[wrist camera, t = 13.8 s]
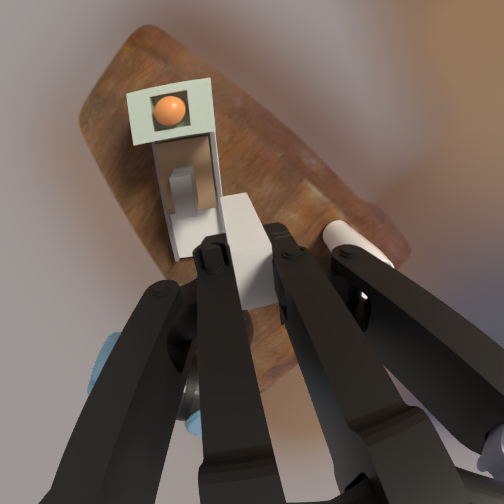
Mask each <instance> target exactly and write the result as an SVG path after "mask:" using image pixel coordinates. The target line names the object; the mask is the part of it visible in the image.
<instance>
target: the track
mask: <svg viewBox="0 0 504 504" xmlns="http://www.w3.org/2000/svg"><path fill="white" fill-rule="evenodd" d="M205 134H208V138H209V147H210V155H211V164H212V172H213V180H214V188H215V195H216V205H217V208H210V209H203V210H197V216H196V217H189V218H183V219H177V218H176V214H170V215H167V211H166V206H165V201H164V196H163V191H162V186H161V180H160V175H159V169H158V163H157V157H156V151H155V144H157V143H158V142H162V141H167V140H173V139H179V138H185V137H191V136H198V135H205ZM151 144H152V150H153V156H154V162H155V168H156V174H157V179H158V184H159V190H160V195H161V200H162V205H163V209H164V214H165V219H166V223H167V228H168V232H169V237H170V241H171V245H172V249H173V253H174V257H175V261H176V262H177V261H179V259H180V258H184V257H191V256H193V254H192V252H193V250H194V249H195V248H196V247H197V246H198V245H200V244H201V242H202V241H203V239H204V238H205V237H206V236H211V235H216V234H221V233H226V230H225V224H224V218H223V212H222V206H221V200H220V197H222V188H221V180H220V171H219V163H218V154H217V145H216V136H215V131H214V132H206V133H199V134H192V135H186V136H180V137H174V138H169V139H163V140H158V141H153V142H151Z"/></svg>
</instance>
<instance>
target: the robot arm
mask: <svg viewBox="0 0 504 504" xmlns="http://www.w3.org/2000/svg"><path fill="white" fill-rule="evenodd" d="M220 200H221V206H222V212H223V218H224V224H225V230H226V233H221V234H216V235H211V236H206V237H205V238H204V239H203V241H202V242H201V244H200V245H198V246H197V247H196V248H195V249H194V250H193V252H192V254H193V258H194V262H195V265H196V269H197V278H196V279H195V280H193V281H192V282H190V283H188V284H185V285H183V286H180V287H179V285H178V283H177V282H175V281H173V280H161V281H159V282H156V283H154V284H152V285H151V286H149V287H148V288H147V290H146V291H145V292H144V294H143V296H142V297H141V299H140V301H139V302H138V304H137V306H136V308H135V310H134V311H133V313H132V315H131V316H130V318H129V320H128V322H127V323H126V325H125V327H124V329H123V331H122V332H115V333H112V334H111V335H109V336H108V338H107V339H106V341H105V343H104V345H103V346H102V348H101V351H100V353H99V355H98V357H97V360H96V362H95V365H94V368H93V371H92V374H91V379H90V382H89V384H88V390H87V393H88V395H89V397H88V399H87V401H86V403H85V405H84V407H83V409H82V412H81V414H80V416H79V418H78V421H77V423H76V425H75V428H74V430H73V432H72V434H71V437H70V439H69V442H68V444H67V446H66V449H65V451H64V454H63V457H62V459H61V462H60V464H59V467H58V470H57V472H56V475H55V478H54V481H53V484H52V487H51V489H50V490H49V492H48V493H47V494H46V495H45V496H44V498H43V499H42V500H41V501H40V502H39V504H154V503H155V499H156V495H157V491H158V487H159V483H160V479H161V474H162V470H163V466H164V462H165V458H166V455H167V450H168V447H169V443H170V439H171V435H172V432H173V428H174V424H175V420H180V421H185V427H186V429H187V430H188V432H189V433H191V434H194V435H196V436H200V437H202V442H203V457H204V459H203V463H202V464H201V466H200V467H199V472H198V485H199V495H200V504H504V349H503V348H502V347H501V346H499V345H498V344H497V343H496V342H495V341H493V340H492V339H491V338H490V337H488V336H487V335H486V334H484V333H483V332H482V331H481V330H479V329H478V328H477V327H476V326H474V325H473V324H472V323H470V322H469V321H468V320H467V319H465V318H464V317H463V316H461V315H460V314H459V313H457V312H456V311H454V310H453V309H452V308H450V307H449V306H448V305H446V304H445V303H444V302H442V301H440V300H439V299H438V298H437V297H435V296H434V295H432V294H431V293H429V292H428V291H427V290H425V289H424V288H422V287H421V286H419V285H418V284H416V283H415V282H413V281H412V280H410V279H409V278H408V277H406V276H405V275H403V274H402V273H400V272H399V271H397V270H396V269H394V268H393V267H391V266H390V265H388V264H387V263H385V262H383V261H382V260H380V259H379V258H377V257H376V256H374V255H373V254H371V253H369V252H368V251H366V250H365V249H363V248H361V247H359V246H357V245H352V244H343V245H339V246H337V247H335V248H333V250H332V251H331V257H316V256H312V254H311V253H310V251H309V250H308V249H307V248H305V247H302V246H298V244H297V243H296V241H295V240H294V238H293V237H292V235H291V234H290V232H289V231H288V229H287V228H286V226H285V225H283V224H281V223H279V222H277V223H271V224H266V225H262V224H261V222H260V220H259V218H258V216H257V214H256V212H255V210H254V208H253V206H252V203H251V201H250V199H249V197H248V195H247V193H241V194H235V195H230V196H224V197H220ZM362 292H363V293H364V294H365V295H366V296H367V300H366V299H365V298H363V297H362ZM277 297H278V300H279V306H280V317H281V325H284V324H285V327H286V329H287V332H288V335H289V338H290V341H291V343H292V346H293V349H294V352H295V355H296V357H297V360H298V363H299V366H300V369H301V371H302V374H303V377H304V380H305V383H306V386H307V388H308V391H309V394H310V397H311V400H312V402H313V405H314V408H315V411H316V413H317V416H318V419H319V422H320V425H321V428H322V431H323V434H324V436H325V439H326V442H327V445H328V448H329V451H330V454H331V457H332V460H333V464H334V473H335V478H336V482H337V485H338V488H339V491H340V494H341V495H339V496H337V497H335V498H334V499H331V500H329V501H320V502H304V503H303V502H302V503H286V500H285V496H284V493H283V488H282V485H281V481H280V476H279V472H278V468H277V464H276V460H275V456H274V452H273V448H272V444H271V439H270V435H269V431H268V427H267V422H266V418H265V414H264V409H263V405H262V401H261V396H260V392H259V387H258V383H257V378H256V374H255V369H254V364H253V360H252V355H251V350H250V346H251V342H252V337H253V324H252V319H251V316H250V314H249V313H248V312H247V309H252V308H257V307H262V306H267V305H272V304H277ZM382 364H383V365H384V366H385V367H386V368H387V369H388V370H389V371H390V372H391V373H392V374H393V375H394V376H395V377H396V378H397V379H398V380H399V381H400V382H401V383H402V384H403V385H404V386H405V387H406V388H407V389H408V390H409V391H410V392H411V393H412V394H413V395H414V396H415V397H416V398H417V399H418V400H419V401H420V402H421V403H422V404H423V405H424V406H425V407H426V408H427V410H428V411H429V412H430V413H431V414H432V415H434V417H435V418H436V419H437V420H438V421H439V422H440V423H441V424H442V425H443V426H444V427H445V428H446V429H447V430H448V431H449V432H450V433H451V434H452V435H453V436H454V437H455V438H456V439H457V440H458V441H459V442H460V443H462V444H463V445H465V446H466V447H467V448H469V449H470V450H472V451H474V452H476V453H478V454H480V455H481V456H480V457H479V459H478V462H477V468H478V469H479V471H481V472H485V471H488V472H489V473H490V474H491V475H492V476H493V477H494V479H493V478H489V477H486V476H483V475H479V474H476V473H473V472H470V471H467V470H464V469H461V468H458V467H456V466H454V464H453V461H452V460H451V458H450V456H449V454H448V452H447V450H446V448H445V446H444V444H443V442H442V440H441V439H440V437H439V435H438V433H437V431H436V430H435V428H434V426H433V424H432V422H431V421H430V419H429V417H428V416H427V414H426V413H425V412H424V411H423V410H422V409H421V408H419V407H417V406H408V405H407V404H406V403H405V402H404V401H403V399H402V397H401V396H400V394H399V392H398V390H397V389H396V387H395V385H394V383H393V382H392V380H391V378H390V376H389V375H388V373H387V371H386V370H385V368H384V366H383V365H382Z"/></svg>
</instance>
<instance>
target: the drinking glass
mask: <svg viewBox="0 0 504 504" xmlns="http://www.w3.org/2000/svg"><path fill="white" fill-rule="evenodd" d="M323 241H324V243H325V244H326V246H327V247H328V248H329V250H330V252H331V251H332V250H333V248H335V247H337V246H339V245H343V244H352V245H357V246H359V247H361V248H363V249H365V250H366V251H368V252H369V253H371V254H373V255H374V256H376V257H377V258H379V259H380V260H382V261H383V262H385V263H387V264H388V265H390V266H391V267H393V268H394V266H393V264H392V263H391V262H390V261H389V259H388V258H387V257H386V256H385V255H384V254H383V253H382V252H381V251H380V250H379V249H378V248H377V247H376V246H375V245H373V244H372V243H371V242H369V241H368V240H367V239H365V238H364V237H363V236H362V235H360V234H359V233H358V232H356V231H355V230H354V229H352V228H351V227H350V226H349V225H348V224H347V223H345V222H344V221H341V220H336V221H333V222H331V223H329V224H328V225H327V226H326V227H325V229H324V231H323ZM362 297H363V298H365V299H367V296H366V295H365V294H364V293H363V292H362Z"/></svg>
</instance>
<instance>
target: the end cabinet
mask: <svg viewBox="0 0 504 504" xmlns="http://www.w3.org/2000/svg"><path fill="white" fill-rule="evenodd" d="M168 96H174V97H177V98H180V99H181V100H183V101H184V103H185V104H186V108H187V112H186V115H185V117H184V119H183V120H182V121H180V122H179V123H177V124H174V125H170V126H166V125H162V124H161V123H159V122H158V121H157V120H156V118H155V115H154V109H155V106H156V104H157V103H158V102H159V101H160V100H161V99H162V98H164V97H168ZM127 103H128V111H129V118H130V125H131V132H132V138H133V144H134V145H139V144H143V143H148V142H153V141H158V140H163V139H169V138H174V137H180V136H186V135H192V134H199V133H206V132H214V131H216V130H215V121H214V111H213V101H212V90H211V80H210V78H205V79H197V80H190V81H184V82H178V83H172V84H167V85H162V86H157V87H153V88H148V89H144V90H139V91H135V92H131V93H128V94H127Z"/></svg>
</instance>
